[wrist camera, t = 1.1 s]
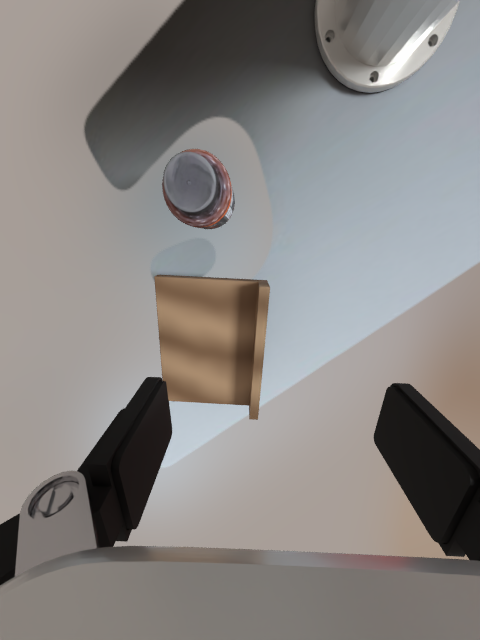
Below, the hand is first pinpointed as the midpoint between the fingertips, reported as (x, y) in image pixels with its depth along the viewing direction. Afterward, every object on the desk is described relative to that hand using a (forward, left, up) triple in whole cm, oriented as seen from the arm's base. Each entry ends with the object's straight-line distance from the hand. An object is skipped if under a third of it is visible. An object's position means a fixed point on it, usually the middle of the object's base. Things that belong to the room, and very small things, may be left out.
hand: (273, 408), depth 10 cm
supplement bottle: (-10, -6, -23) cm, 26 cm away
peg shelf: (+6, -5, -23) cm, 24 cm away
